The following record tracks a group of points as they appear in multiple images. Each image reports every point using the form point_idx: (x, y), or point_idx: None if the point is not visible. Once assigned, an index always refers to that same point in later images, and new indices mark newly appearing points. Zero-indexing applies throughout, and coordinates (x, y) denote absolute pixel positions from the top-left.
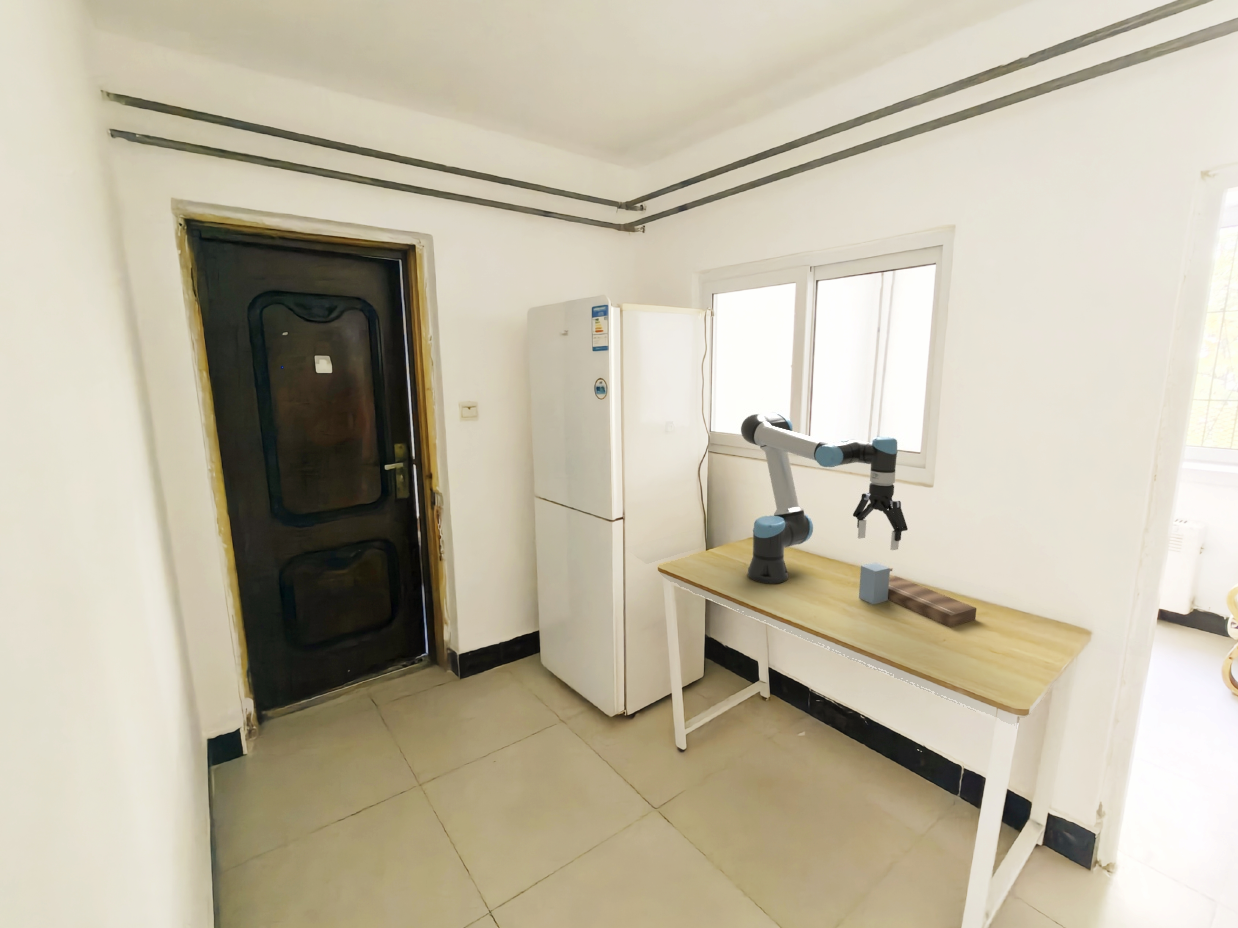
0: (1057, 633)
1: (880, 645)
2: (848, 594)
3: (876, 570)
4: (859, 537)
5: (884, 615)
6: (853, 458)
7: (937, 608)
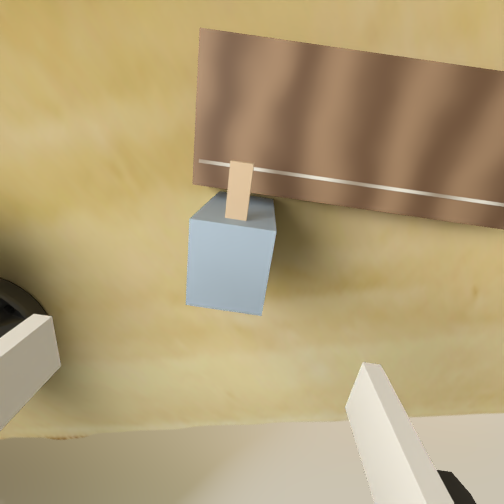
0: None
1: None
2: (183, 249)
3: (258, 303)
4: (53, 372)
5: (317, 286)
6: None
7: (455, 215)
